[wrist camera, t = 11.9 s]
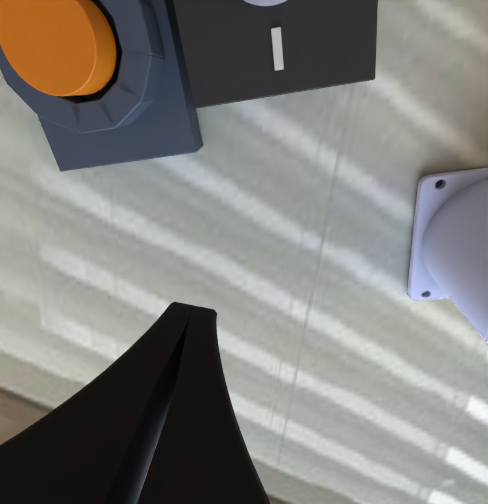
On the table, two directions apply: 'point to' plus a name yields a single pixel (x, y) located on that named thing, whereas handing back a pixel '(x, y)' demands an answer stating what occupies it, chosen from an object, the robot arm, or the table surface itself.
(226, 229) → the table surface
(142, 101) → the button base
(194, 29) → the dial panel
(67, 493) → the robot arm
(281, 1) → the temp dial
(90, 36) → the button
